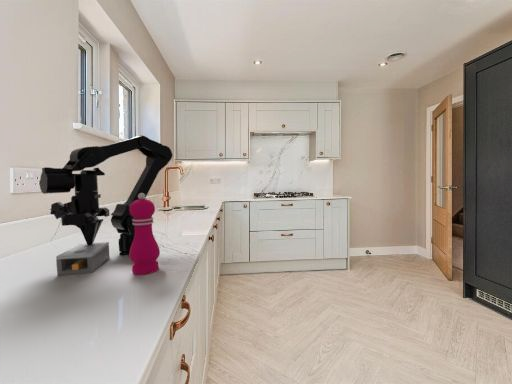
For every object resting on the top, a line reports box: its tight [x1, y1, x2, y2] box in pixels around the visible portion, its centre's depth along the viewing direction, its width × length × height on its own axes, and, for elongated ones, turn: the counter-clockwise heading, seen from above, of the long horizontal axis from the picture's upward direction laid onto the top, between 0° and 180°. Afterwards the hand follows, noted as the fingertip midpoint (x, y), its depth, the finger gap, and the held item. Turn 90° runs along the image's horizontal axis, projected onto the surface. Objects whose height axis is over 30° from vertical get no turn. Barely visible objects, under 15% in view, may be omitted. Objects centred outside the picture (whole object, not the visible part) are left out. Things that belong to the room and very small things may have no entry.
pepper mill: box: [128, 193, 161, 276], centre depth 70 cm, size 7×7×20 cm
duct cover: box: [55, 241, 110, 260], centre depth 76 cm, size 8×14×1 cm, turn 12°
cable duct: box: [55, 245, 111, 276], centre depth 77 cm, size 8×14×4 cm, turn 12°
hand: (90, 245), depth 80 cm, fingers closed, pressing on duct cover
